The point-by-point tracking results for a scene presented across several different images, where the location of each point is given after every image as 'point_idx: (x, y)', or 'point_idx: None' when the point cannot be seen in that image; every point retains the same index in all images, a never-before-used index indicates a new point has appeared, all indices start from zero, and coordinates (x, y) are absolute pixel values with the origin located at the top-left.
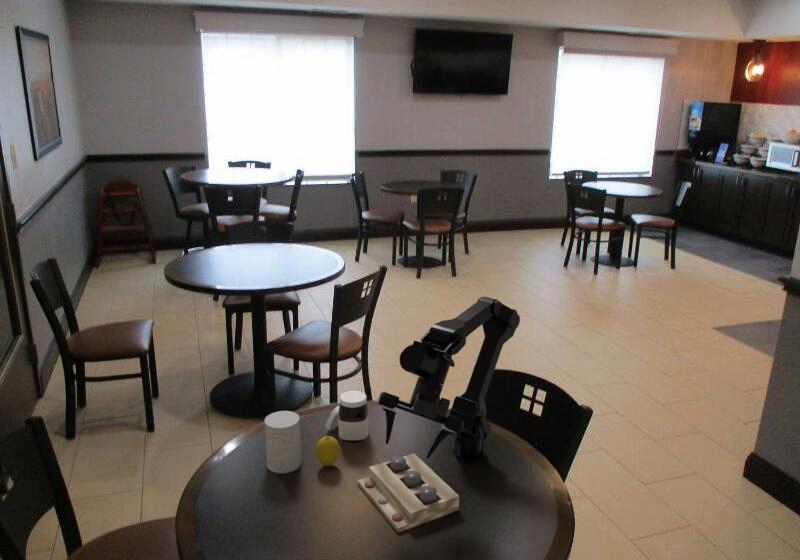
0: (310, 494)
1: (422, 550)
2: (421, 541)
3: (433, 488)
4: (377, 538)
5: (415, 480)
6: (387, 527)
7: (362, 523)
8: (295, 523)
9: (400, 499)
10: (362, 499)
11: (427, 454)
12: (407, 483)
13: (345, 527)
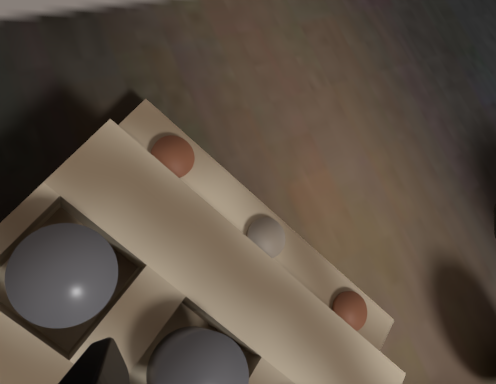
0: (457, 204)
1: (10, 33)
2: (31, 80)
3: (36, 312)
4: (198, 63)
5: (172, 344)
6: (189, 124)
7: (273, 122)
8: (420, 77)
9: (193, 200)
10: (329, 241)
11: (118, 379)
12: (208, 329)
13: (308, 91)
